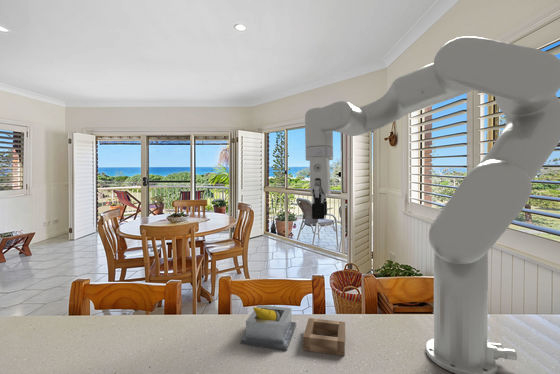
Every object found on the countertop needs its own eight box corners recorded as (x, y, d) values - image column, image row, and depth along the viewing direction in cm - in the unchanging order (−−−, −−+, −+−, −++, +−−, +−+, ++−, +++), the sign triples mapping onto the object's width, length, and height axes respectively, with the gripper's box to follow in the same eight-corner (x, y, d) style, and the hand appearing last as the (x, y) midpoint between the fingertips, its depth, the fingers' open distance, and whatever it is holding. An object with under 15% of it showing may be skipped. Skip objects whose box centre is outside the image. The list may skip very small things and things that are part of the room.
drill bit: (285, 335, 68) (260, 315, 64) (268, 339, 70) (242, 321, 66) (287, 313, 72) (263, 294, 68) (270, 318, 74) (246, 299, 70)
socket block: (345, 334, 69) (345, 321, 69) (344, 355, 61) (344, 341, 61) (308, 329, 72) (308, 318, 72) (303, 350, 63) (303, 336, 63)
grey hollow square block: (296, 326, 73) (295, 307, 73) (286, 350, 63) (286, 328, 63) (255, 321, 76) (255, 303, 76) (240, 343, 65) (240, 322, 65)
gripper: (331, 150, 68) (332, 221, 68) (334, 157, 85) (335, 213, 85) (300, 151, 70) (301, 220, 70) (309, 158, 87) (310, 213, 87)
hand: (320, 216), depth 78 cm, fingers open, 9 cm apart
